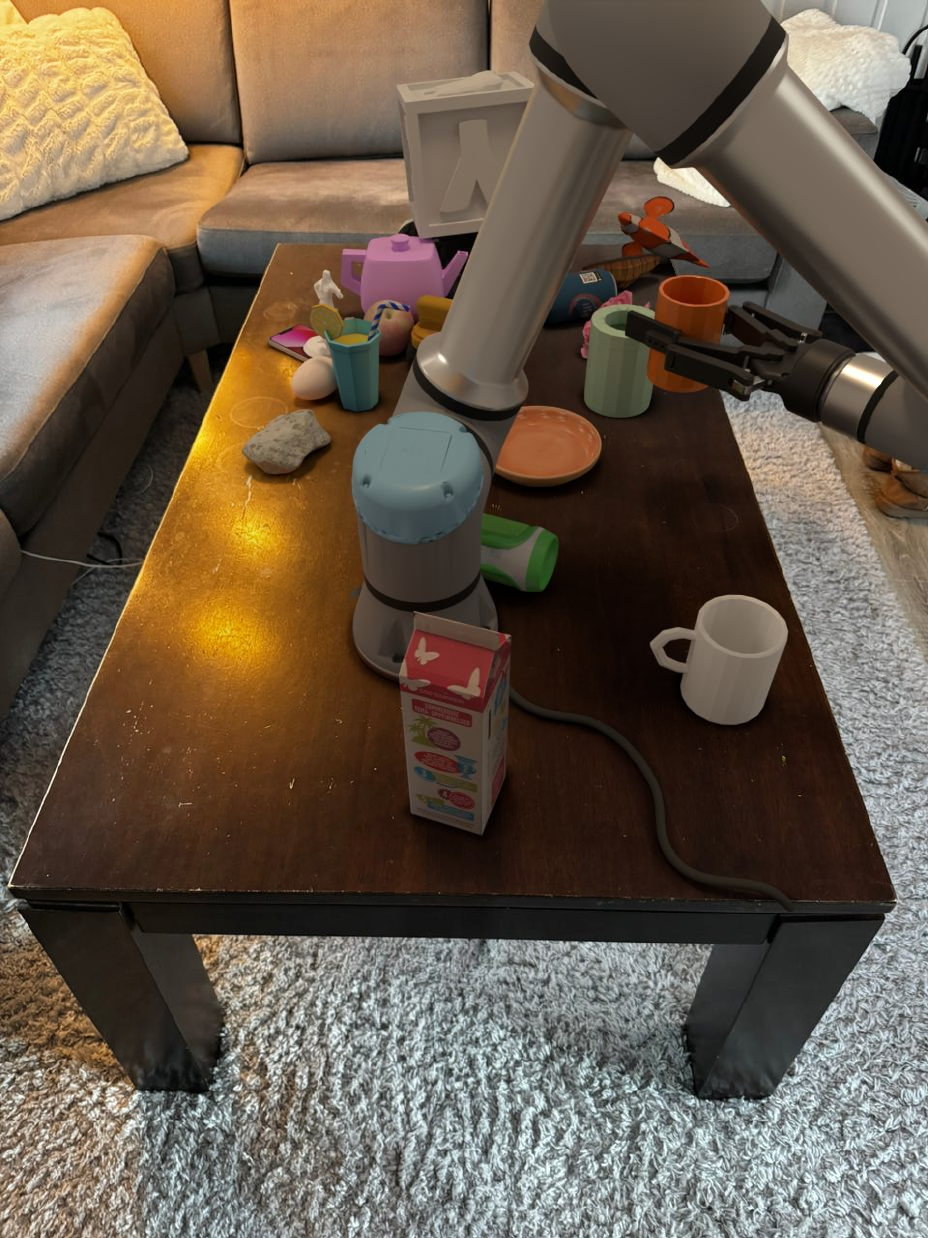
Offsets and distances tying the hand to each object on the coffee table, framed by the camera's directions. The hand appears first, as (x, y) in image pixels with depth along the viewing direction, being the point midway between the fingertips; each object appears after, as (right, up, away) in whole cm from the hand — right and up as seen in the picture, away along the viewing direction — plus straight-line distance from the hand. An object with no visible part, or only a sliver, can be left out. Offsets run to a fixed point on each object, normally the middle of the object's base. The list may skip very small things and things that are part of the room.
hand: (651, 310), depth 99 cm
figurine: (-41, +6, +36) cm, 55 cm away
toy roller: (-23, +5, +36) cm, 43 cm away
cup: (-35, -3, +28) cm, 45 cm away
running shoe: (-18, +29, +53) cm, 63 cm away
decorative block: (-19, +31, +47) cm, 59 cm away
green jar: (+1, -3, +28) cm, 28 cm away
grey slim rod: (-39, +13, +44) cm, 60 cm away
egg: (-39, +2, +29) cm, 48 cm away
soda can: (+3, +19, +44) cm, 48 cm away
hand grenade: (-24, +21, +49) cm, 58 cm away
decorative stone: (-44, -13, +19) cm, 49 cm away
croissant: (+5, +26, +50) cm, 57 cm away
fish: (+14, +28, +50) cm, 59 cm away
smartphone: (-37, +3, +34) cm, 51 cm away
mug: (+3, -42, -10) cm, 43 cm away
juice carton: (-21, -50, -18) cm, 57 cm away
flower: (+1, +6, +37) cm, 38 cm away
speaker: (-21, -27, -3) cm, 34 cm away
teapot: (-30, +15, +46) cm, 57 cm away
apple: (-31, +8, +39) cm, 51 cm away
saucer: (-11, -13, +18) cm, 25 cm away
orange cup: (+3, -7, +2) cm, 8 cm away
